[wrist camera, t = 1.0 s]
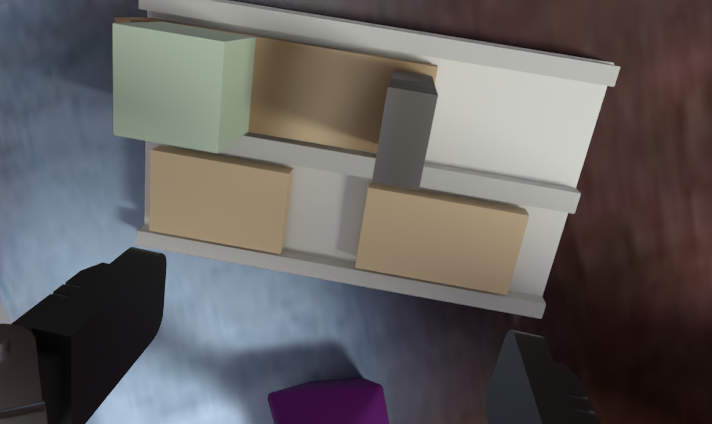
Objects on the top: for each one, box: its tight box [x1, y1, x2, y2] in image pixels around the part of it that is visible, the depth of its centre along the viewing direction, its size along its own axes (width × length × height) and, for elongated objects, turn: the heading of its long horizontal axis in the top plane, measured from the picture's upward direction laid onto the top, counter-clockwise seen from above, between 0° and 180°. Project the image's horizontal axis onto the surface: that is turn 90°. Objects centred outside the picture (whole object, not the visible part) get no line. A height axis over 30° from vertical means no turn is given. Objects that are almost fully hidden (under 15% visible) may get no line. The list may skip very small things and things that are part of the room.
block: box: [113, 22, 256, 153], centre depth 27 cm, size 5×5×5 cm
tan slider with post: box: [115, 17, 438, 191], centre depth 26 cm, size 16×5×8 cm, turn 81°
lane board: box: [137, 0, 620, 319], centre depth 31 cm, size 25×15×2 cm, turn 81°
